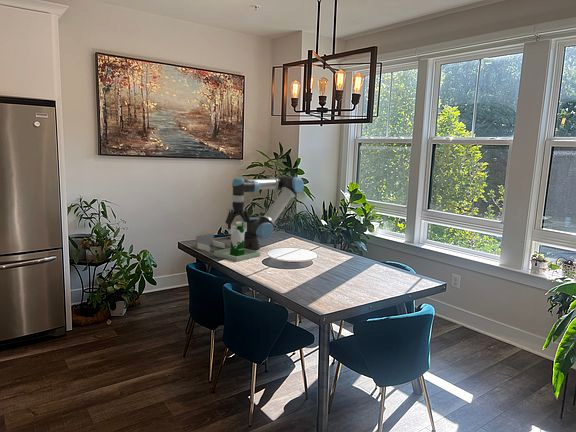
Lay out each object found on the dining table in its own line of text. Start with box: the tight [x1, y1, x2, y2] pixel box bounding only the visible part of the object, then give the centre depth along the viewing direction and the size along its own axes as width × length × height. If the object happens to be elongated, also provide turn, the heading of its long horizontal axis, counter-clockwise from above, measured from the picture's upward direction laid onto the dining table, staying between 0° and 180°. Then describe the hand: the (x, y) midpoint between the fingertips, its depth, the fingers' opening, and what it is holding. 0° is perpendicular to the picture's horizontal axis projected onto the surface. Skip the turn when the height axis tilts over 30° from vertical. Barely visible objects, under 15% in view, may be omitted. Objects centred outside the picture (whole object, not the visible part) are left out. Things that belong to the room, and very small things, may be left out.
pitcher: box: [232, 220, 242, 228], centre depth 343 cm, size 11×18×14 cm, turn 128°
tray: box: [213, 247, 261, 263], centre depth 286 cm, size 22×22×3 cm
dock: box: [195, 233, 226, 252], centre depth 306 cm, size 14×15×9 cm
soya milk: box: [230, 226, 246, 256], centre depth 285 cm, size 9×9×20 cm
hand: (237, 232), depth 284 cm, fingers open, 13 cm apart
